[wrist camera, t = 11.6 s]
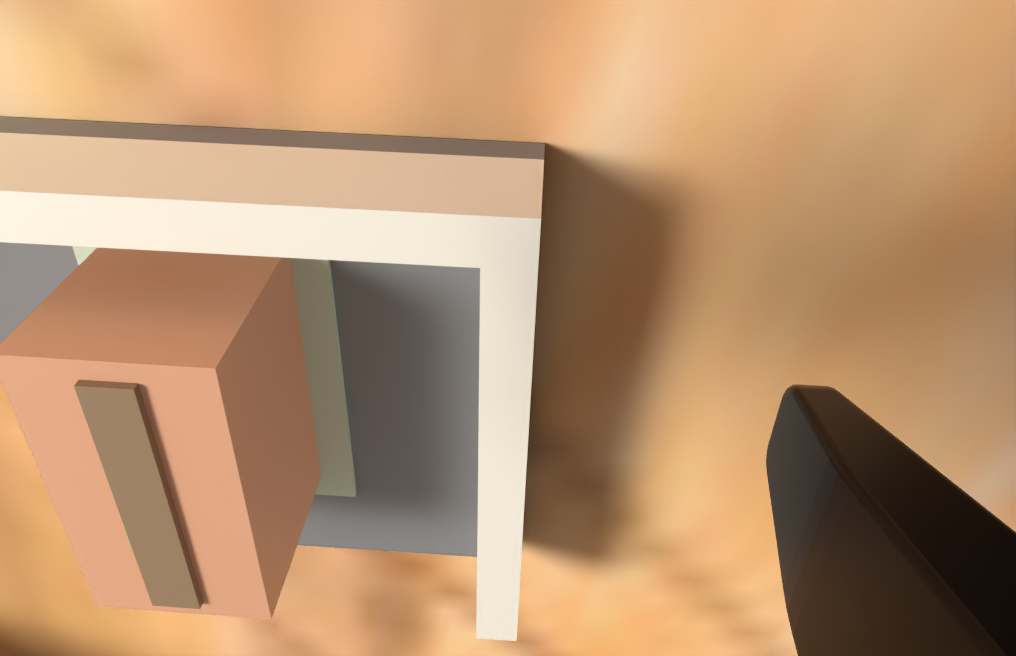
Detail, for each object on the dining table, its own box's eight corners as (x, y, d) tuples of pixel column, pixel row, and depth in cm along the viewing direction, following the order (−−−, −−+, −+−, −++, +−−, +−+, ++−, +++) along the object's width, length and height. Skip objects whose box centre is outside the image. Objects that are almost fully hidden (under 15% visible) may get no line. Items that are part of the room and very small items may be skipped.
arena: (544, 142, 19) (541, 219, 16) (522, 536, 27) (516, 640, 24) (-66, 113, 19) (-195, 180, 16) (89, 508, 27) (25, 607, 24)
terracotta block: (321, 476, 24) (268, 626, 20) (175, 466, 24) (92, 613, 20) (288, 245, 19) (211, 374, 15) (109, 235, 20) (-17, 360, 15)
